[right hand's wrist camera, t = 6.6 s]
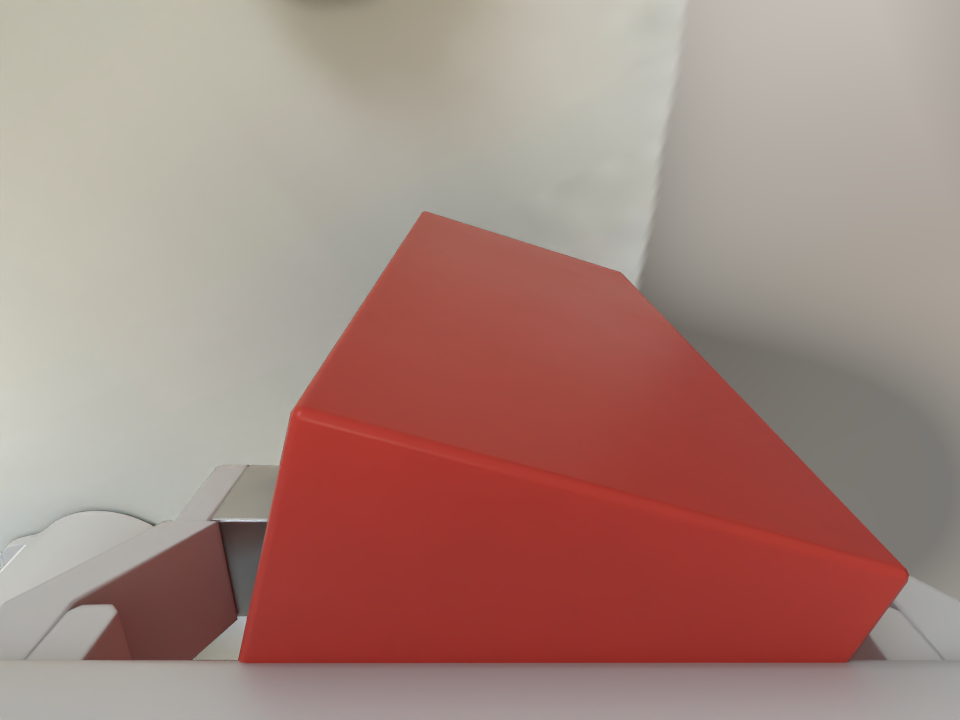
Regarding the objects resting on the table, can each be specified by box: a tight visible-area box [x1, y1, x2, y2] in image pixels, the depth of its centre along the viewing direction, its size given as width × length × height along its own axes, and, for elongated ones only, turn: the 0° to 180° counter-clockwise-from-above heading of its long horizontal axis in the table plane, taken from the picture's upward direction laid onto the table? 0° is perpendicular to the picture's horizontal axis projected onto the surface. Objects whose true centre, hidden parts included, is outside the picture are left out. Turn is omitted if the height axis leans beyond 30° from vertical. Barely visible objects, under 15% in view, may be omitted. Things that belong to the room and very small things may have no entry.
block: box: [238, 212, 909, 663], centre depth 11 cm, size 5×7×11 cm
